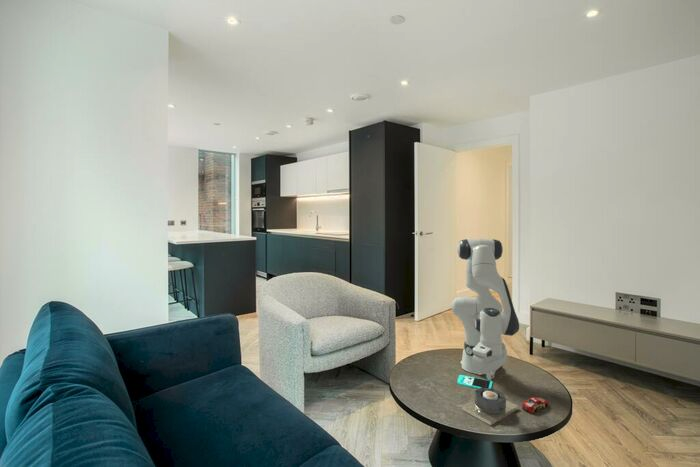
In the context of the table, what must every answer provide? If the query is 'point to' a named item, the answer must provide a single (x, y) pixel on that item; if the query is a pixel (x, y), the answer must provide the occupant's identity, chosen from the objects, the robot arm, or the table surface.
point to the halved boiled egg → (490, 395)
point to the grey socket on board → (489, 407)
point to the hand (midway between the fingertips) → (490, 378)
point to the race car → (534, 404)
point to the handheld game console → (474, 382)
